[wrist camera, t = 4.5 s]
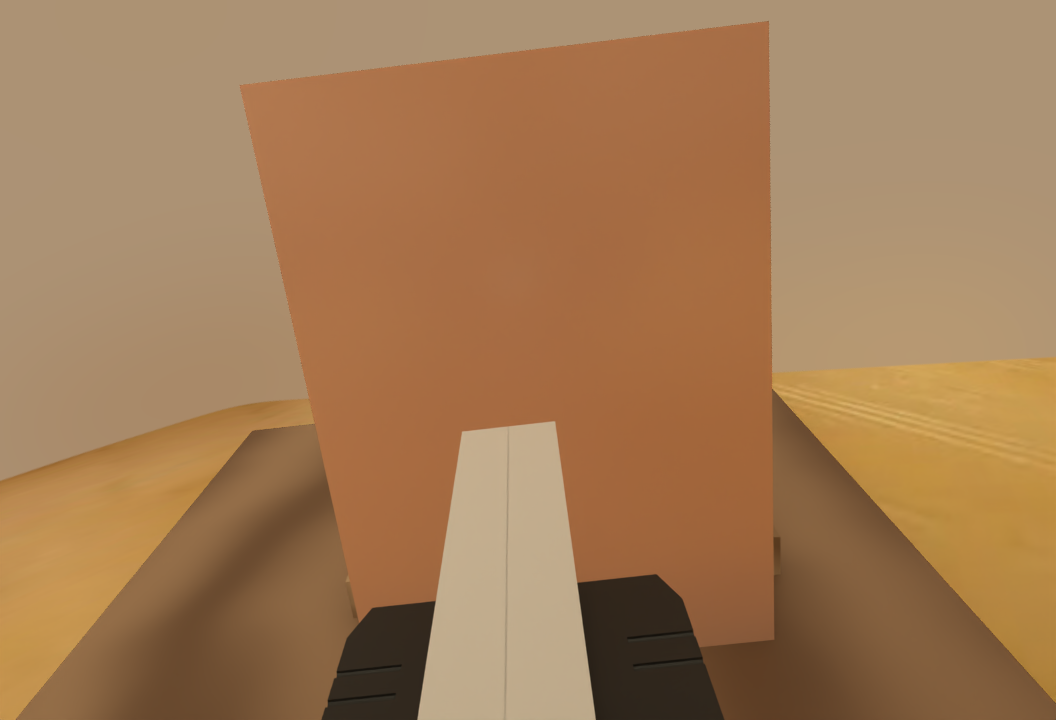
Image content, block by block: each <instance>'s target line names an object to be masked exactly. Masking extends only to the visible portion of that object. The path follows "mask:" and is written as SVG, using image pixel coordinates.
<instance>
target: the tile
mask: <svg viewBox="0 0 1056 720" xmlns="http://www.w3.org/2000/svg"><path fill="white" fill-rule="evenodd" d="M240 89H241V94H242V98H243V103H244V107H245V112H246V116H247V121H248V125H249V130H250V134H251V139H252V143H253V147H254V152H255V157H256V161H257V166H258V170H259V175H260V179H261V184H262V188H263V193H264V197H265V202H266V206H267V211H268V215H269V220H270V224H271V228H272V233H273V238H274V242H275V247H276V251H277V256H278V260H279V265H280V269H281V274H282V278H283V283H284V287H285V292H286V296H287V301H288V305H289V310H290V314H291V319H292V323H293V327H294V332H295V337H296V341H297V345H298V350H299V355H300V359H301V364H302V368H303V373H304V377H305V381H306V386H307V391H308V395H309V400H310V404H311V409H312V413H313V418H314V422H315V427H316V431H317V436H318V440H319V445H320V449H321V454H322V458H323V463H324V467H325V472H326V476H327V481H328V485H329V490H330V494H331V499H332V503H333V508H334V512H335V517H336V521H337V526H338V530H339V535H340V539H341V544H342V548H343V553H344V557H345V562H346V566H347V571H348V575H349V580H350V584H351V589H352V593H353V598H354V602H355V607H356V611H357V616H358V620H359V623H360V622H361V620H362V619H363V618H364V617H365V616H366V615H367V613H368V612H369V611H370V610H371V609H372V608H375V607H384V606H393V605H403V604H412V603H421V602H430V601H436V597H437V590H438V584H439V577H440V571H441V565H442V558H443V552H444V545H445V539H446V532H447V526H448V519H449V513H450V507H451V500H452V494H453V487H454V481H455V474H456V468H457V462H458V455H459V449H460V442H461V436H462V432H463V431H472V430H481V429H490V428H499V427H508V426H516V425H525V424H534V423H543V422H552V421H555V424H556V432H557V439H558V446H559V454H560V461H561V468H562V476H563V483H564V490H565V498H566V505H567V512H568V520H569V527H570V534H571V542H572V549H573V556H574V564H575V571H576V578H577V583H579V582H588V581H597V580H607V579H616V578H625V577H634V576H643V575H653V574H657V575H658V576H659V577H660V578H661V579H662V580H663V581H664V582H665V583H666V584H668V585H669V586H670V587H671V588H672V589H673V590H674V591H675V592H676V593H677V594H678V595H679V596H680V597H681V598H682V599H683V602H684V604H685V607H686V610H687V613H688V616H689V619H690V622H691V625H692V628H693V632H694V636H696V639H697V642H698V645H699V647H707V646H717V645H727V644H737V643H747V642H757V641H767V640H774V547H773V435H772V325H771V324H772V323H771V221H770V220H771V219H770V218H771V213H770V212H771V210H770V103H769V102H770V99H769V21H766V22H758V23H749V24H741V25H732V26H724V27H716V28H708V29H699V30H692V31H683V32H675V33H666V34H658V35H650V36H641V37H633V38H625V39H617V40H609V41H600V42H592V43H584V44H575V45H567V46H559V47H551V48H542V49H535V50H526V51H519V52H510V53H502V54H493V55H485V56H476V57H468V58H460V59H452V60H443V61H435V62H427V63H418V64H410V65H402V66H394V67H385V68H377V69H370V70H361V71H352V72H344V73H337V74H328V75H320V76H311V77H303V78H294V79H286V80H278V81H270V82H262V83H253V84H245V85H240Z"/></svg>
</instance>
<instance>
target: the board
mask: <svg viewBox="0 0 1056 720" xmlns="http://www.w3.org/2000/svg"><path fill="white" fill-rule="evenodd" d="M772 435H773V547H774V640H767V641H757V642H747V643H737V644H727V645H717V646H707V647H699V648H700V651H701V654H702V656H703V662H704V664H705V665H706V668H707V671H708V674H709V677H710V679H711V682H712V685H713V688H714V691H715V694H716V697H717V700H718V703H719V705H720V708H721V711H722V714H723V717H724V720H1056V703H1055V702H1054V701H1053V700H1052V699H1051V698H1050V697H1049V696H1048V694H1047V693H1046V692H1045V691H1044V690H1043V689H1042V688H1041V687H1040V686H1039V684H1038V683H1037V682H1036V681H1035V680H1034V679H1033V678H1032V677H1031V676H1030V674H1029V673H1028V672H1027V671H1026V670H1025V669H1024V668H1023V667H1022V666H1021V664H1020V663H1019V662H1018V661H1017V660H1016V659H1015V658H1014V657H1013V656H1012V654H1011V653H1010V652H1009V651H1008V650H1007V649H1006V648H1005V647H1004V646H1003V644H1002V643H1001V642H1000V641H999V640H998V639H997V638H996V637H995V636H994V634H993V633H992V632H991V631H990V630H989V629H988V628H987V627H986V626H985V624H984V623H983V622H982V621H981V620H980V619H979V618H978V617H977V616H976V614H975V613H974V612H973V611H972V610H971V609H970V608H969V607H968V606H967V604H966V603H965V602H964V601H963V600H962V599H961V598H960V597H959V596H958V594H957V593H956V592H955V591H954V590H953V589H952V588H951V587H950V586H949V585H948V583H947V582H946V581H945V580H944V579H943V578H942V577H941V576H940V575H939V573H938V572H937V571H936V570H935V569H934V568H933V567H932V566H931V565H930V563H929V562H928V561H927V560H926V559H925V558H924V557H923V556H922V555H921V553H920V552H919V551H918V550H917V549H916V548H915V547H914V546H913V545H912V543H911V542H910V541H909V540H908V539H907V538H906V537H905V536H904V535H903V533H902V532H901V531H900V530H899V529H898V528H897V527H896V526H895V525H894V523H893V522H892V521H891V520H890V519H889V518H888V517H887V516H886V515H885V513H884V512H883V511H882V510H881V509H880V508H879V507H878V506H877V505H876V503H875V502H874V501H873V500H872V499H871V498H870V497H869V496H868V495H867V493H866V492H865V491H864V490H863V489H862V488H861V487H860V486H859V485H858V483H857V482H856V481H855V480H854V479H853V478H852V477H851V476H850V475H849V473H848V472H847V471H846V470H845V469H844V468H843V467H842V466H841V465H840V464H839V462H838V461H837V460H836V459H835V458H834V457H833V456H832V455H831V454H830V452H829V451H828V450H827V449H826V448H825V447H824V446H823V445H822V444H821V442H820V441H819V440H818V439H817V438H816V437H815V436H814V435H813V434H812V432H811V431H810V430H809V429H808V428H807V427H806V426H805V425H804V424H803V422H802V421H801V420H800V419H799V418H798V417H797V416H796V415H795V414H794V412H793V411H792V410H791V409H790V408H789V407H788V406H787V405H786V404H785V402H784V401H783V400H782V399H781V398H780V397H779V396H778V395H777V394H776V392H775V391H774V390H773V389H772ZM358 624H359V620H358V616H357V611H356V607H355V602H354V598H353V593H352V589H351V584H350V580H349V575H348V571H347V566H346V562H345V557H344V553H343V548H342V544H341V539H340V535H339V530H338V526H337V521H336V517H335V512H334V508H333V503H332V499H331V494H330V490H329V485H328V481H327V476H326V472H325V467H324V463H323V458H322V454H321V449H320V445H319V440H318V436H317V431H316V427H315V424H310V425H300V426H291V427H282V428H273V429H264V430H255V431H252V432H251V433H250V434H249V436H248V437H247V438H246V439H245V441H244V442H243V443H242V444H241V445H240V447H239V448H238V449H237V450H236V451H235V453H234V454H233V455H232V456H231V458H230V459H229V460H228V461H227V462H226V464H225V465H224V466H223V467H222V469H221V470H220V471H219V472H218V473H217V475H216V476H215V477H214V478H213V480H212V481H211V482H210V483H209V484H208V486H207V487H206V488H205V489H204V490H203V492H202V493H201V494H200V495H199V497H198V498H197V499H196V500H195V501H194V503H193V504H192V505H191V506H190V508H189V509H188V510H187V511H186V512H185V514H184V515H183V516H182V517H181V519H180V520H179V521H178V522H177V523H176V525H175V526H174V527H173V528H172V530H171V531H170V532H169V533H168V534H167V536H166V537H165V538H164V539H163V540H162V542H161V543H160V544H159V545H158V547H157V548H156V549H155V550H154V551H153V553H152V554H151V555H150V556H149V558H148V559H147V560H146V561H145V562H144V564H143V565H142V566H141V567H140V569H139V570H138V571H137V572H136V573H135V575H134V576H133V577H132V578H131V579H130V581H129V582H128V583H127V584H126V586H125V587H124V588H123V589H122V590H121V592H120V593H119V594H118V595H117V597H116V598H115V599H114V600H113V601H112V603H111V604H110V605H109V606H108V608H107V609H106V610H105V611H104V612H103V614H102V615H101V616H100V617H99V619H98V620H97V621H96V622H95V623H94V625H93V626H92V627H91V628H90V629H89V631H88V632H87V633H86V634H85V636H84V637H83V638H82V639H81V640H80V642H79V643H78V644H77V645H76V647H75V648H74V649H73V650H72V651H71V653H70V654H69V655H68V656H67V658H66V659H65V660H64V661H63V662H62V664H61V665H60V666H59V667H58V668H57V670H56V671H55V672H54V673H53V675H52V676H51V677H50V678H49V679H48V681H47V682H46V683H45V684H44V686H43V687H42V688H41V689H40V690H39V692H38V693H37V694H36V695H35V697H34V698H33V699H32V700H31V701H30V703H29V704H28V705H27V706H26V707H25V709H24V710H23V711H22V712H21V714H20V715H19V716H18V717H17V718H16V720H321V719H322V716H323V713H324V709H325V707H327V706H328V701H327V700H328V697H329V693H330V690H331V687H332V684H333V681H334V678H336V677H337V672H336V671H337V668H338V665H339V661H340V658H341V655H342V652H343V649H344V645H345V642H346V639H347V637H348V636H349V635H350V633H351V632H352V631H353V630H354V629H355V628H356V626H357V625H358Z"/></svg>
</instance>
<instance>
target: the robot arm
mask: <svg viewBox="0 0 1056 720" xmlns="http://www.w3.org/2000/svg"><path fill="white" fill-rule="evenodd" d="M336 672H337V677H336V678H334V681H333V684H332V687H331V690H330V693H329V697H328V700H327V701H328V706H327V707H325V709H324V713H323V716H322V719H321V720H724V717H723V714H722V711H721V708H720V705H719V703H718V700H717V697H716V694H715V691H714V688H713V685H712V682H711V679H710V677H709V674H708V671H707V668H706V665H705V664H704V662H703V656H702V654H701V651H700V648H699V645H698V642H697V639H696V636H694V632H693V628H692V625H691V622H690V619H689V616H688V613H687V610H686V607H685V604H684V602H683V599H682V598H681V597H680V596H679V595H678V594H677V593H676V592H675V591H674V590H673V589H672V588H671V587H670V586H669V585H668V584H666V583H665V582H664V581H663V580H662V579H661V578H660V577H659V576H658V575H657V574H653V575H643V576H634V577H625V578H616V579H607V580H597V581H588V582H579V583H577V578H576V571H575V564H574V556H573V549H572V542H571V534H570V527H569V520H568V512H567V505H566V498H565V490H564V483H563V476H562V468H561V461H560V454H559V446H558V439H557V432H556V424H555V421H552V422H543V423H534V424H525V425H516V426H508V427H499V428H490V429H481V430H472V431H463V432H462V436H461V442H460V449H459V455H458V462H457V468H456V474H455V481H454V487H453V494H452V500H451V507H450V513H449V519H448V526H447V532H446V539H445V545H444V552H443V558H442V565H441V571H440V577H439V584H438V590H437V597H436V601H430V602H421V603H412V604H403V605H393V606H384V607H375V608H372V609H371V610H370V611H369V612H368V613H367V615H366V616H365V617H364V618H363V619H362V620H361V622H360V623H359V624H358V625H357V626H356V628H355V629H354V630H353V631H352V632H351V633H350V635H349V636H348V637H347V639H346V642H345V645H344V649H343V652H342V655H341V658H340V661H339V665H338V668H337V671H336Z"/></svg>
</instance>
